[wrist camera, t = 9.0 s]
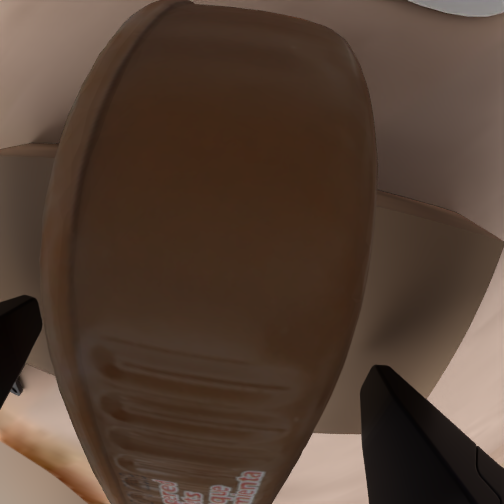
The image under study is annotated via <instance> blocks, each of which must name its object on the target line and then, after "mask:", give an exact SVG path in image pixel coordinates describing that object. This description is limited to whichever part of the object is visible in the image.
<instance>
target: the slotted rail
mask: <svg viewBox="0 0 504 504" xmlns="http://www.w3.org/2000/svg"><path fill="white" fill-rule="evenodd" d="M58 146H59V144H37V143H29V144H24V145H19V146H14V147H9V148H4V149H0V302H3V301H6V300H9V299H12V298H15V297H18V296H21V295H29V296H32V297H34V298H36V299H37V301H38V303H39V308H40V313H41V317H42V322H43V315H42V304H41V289H40V265H39V258H40V250H41V240H42V216H43V210H44V205H45V199H46V195H47V190H48V186H49V182H50V178H51V173H52V169H53V164H54V160H55V156H56V153H57V149H58ZM503 247H504V241H502V240H501V239H499V238H498V237H496V236H495V235H493V234H491V233H490V232H488V231H487V230H485V229H483V228H482V227H480V226H479V225H477V224H475V223H474V222H472V221H470V220H469V219H467V218H465V217H463V216H462V215H460V214H458V213H456V212H453V211H450V210H447V209H444V208H440V207H437V206H434V205H430V204H427V203H423V202H420V201H416V200H413V199H409V198H405V197H402V196H398V195H394V194H390V193H387V192H383V191H379V190H377V198H376V215H375V227H374V236H373V244H372V251H371V258H370V265H369V272H368V277H367V283H366V288H365V293H364V298H363V302H362V307H361V311H360V314H359V318H358V322H357V325H356V328H355V332H354V335H353V338H352V342H351V345H350V348H349V351H348V355H347V358H346V361H345V364H344V366H343V369H342V371H341V374H340V376H339V379H338V381H337V384H336V386H335V388H334V391H333V393H332V395H331V397H330V400H329V402H328V404H327V406H326V408H325V410H324V412H323V414H322V416H321V418H320V420H319V421H318V423H317V425H316V427H315V429H314V431H313V433H327V434H361V409H360V390H361V387H362V384H363V383H364V381H365V379H366V377H367V375H368V373H369V371H370V369H371V367H372V366H373V365H376V364H378V365H388V366H390V367H391V368H392V369H393V370H394V371H395V372H397V373H398V374H399V375H400V376H401V377H402V378H403V379H404V380H406V381H407V382H408V383H409V384H410V385H411V386H412V387H413V388H414V389H416V390H417V391H418V392H419V393H420V394H421V395H422V396H423V397H424V398H426V399H427V397H428V396H429V395H430V393H431V392H432V390H433V388H434V387H435V385H436V384H437V382H438V381H439V379H440V378H441V376H442V374H443V373H444V371H445V369H446V368H447V366H448V364H449V363H450V361H451V359H452V358H453V356H454V354H455V352H456V351H457V349H458V347H459V345H460V343H461V342H462V340H463V338H464V336H465V334H466V332H467V330H468V328H469V326H470V324H471V322H472V320H473V318H474V316H475V314H476V312H477V310H478V308H479V306H480V304H481V302H482V299H483V297H484V295H485V293H486V290H487V288H488V286H489V283H490V281H491V279H492V276H493V274H494V271H495V269H496V266H497V263H498V261H499V258H500V255H501V253H502V250H503ZM26 364H28V365H31V366H33V367H35V368H37V369H40V370H42V371H44V372H47V373H49V374H52V375H54V376H55V372H54V369H53V365H52V361H51V358H50V354H49V351H48V346H47V340H46V335H45V329H44V322H43V326H42V330H41V332H40V334H39V336H38V338H37V340H36V342H35V344H34V346H33V348H32V350H31V353H30V355H29V357H28V359H27V361H26Z"/></svg>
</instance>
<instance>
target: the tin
mask: <svg viewBox="0 0 504 504" xmlns="http://www.w3.org/2000/svg"><path fill="white" fill-rule="evenodd" d="M377 175H378V162H377V149H376V138H375V128H374V119H373V112H372V107H371V101H370V96H369V91H368V88H367V84H366V81H365V78H364V75H363V73H362V70H361V67H360V64H359V63H358V61H357V59H356V57H355V55H354V53H353V51H352V49H351V47H350V46H349V45H348V43H347V42H346V41H345V39H343V38H342V37H341V36H339V35H338V34H337V33H336V32H334V31H333V30H331V29H329V28H327V27H325V26H322V25H319V24H316V23H313V22H310V21H307V20H304V19H301V18H296V17H292V16H287V15H282V14H277V13H271V12H265V11H259V10H249V9H242V8H234V7H224V6H211V5H199V4H194V3H193V2H191V1H189V0H159V1H156V2H154V3H151V4H149V5H147V6H145V7H144V8H142V9H141V10H139V11H138V12H136V13H135V14H133V15H132V16H131V17H130V18H129V19H128V20H127V21H126V22H125V23H124V24H123V25H122V26H121V27H120V28H119V30H118V31H117V32H116V34H115V35H114V36H113V37H112V38H111V40H110V41H109V42H108V44H107V46H106V47H105V48H104V49H103V51H102V52H101V53H100V54H99V56H98V58H97V60H96V62H95V63H94V65H93V67H92V69H91V71H90V72H89V74H88V76H87V78H86V79H85V81H84V83H83V84H82V86H81V89H80V92H79V94H78V96H77V98H76V100H75V102H74V105H73V107H72V109H71V111H70V113H69V115H68V118H67V121H66V124H65V127H64V130H63V133H62V136H61V139H60V142H59V146H58V149H57V153H56V156H55V160H54V164H53V169H52V173H51V178H50V182H49V186H48V190H47V195H46V199H45V205H44V210H43V216H42V240H41V250H40V258H39V265H40V289H41V304H42V315H43V322H44V329H45V335H46V340H47V346H48V351H49V354H50V358H51V361H52V365H53V369H54V372H55V376H56V380H57V383H58V387H59V390H60V393H61V396H62V398H63V401H64V403H65V406H66V409H67V411H68V414H69V417H70V419H71V422H72V424H73V427H74V429H75V432H76V434H77V436H78V439H79V441H80V443H81V446H82V448H83V450H84V452H85V455H86V457H87V459H88V462H89V464H90V466H91V468H92V471H93V473H94V474H95V476H96V478H97V480H98V482H99V483H100V485H101V487H102V489H103V491H104V493H105V494H106V496H107V498H108V500H109V502H110V503H111V504H272V502H273V501H274V499H275V497H276V496H277V494H278V492H279V491H280V489H281V488H282V486H283V485H284V483H285V481H286V480H287V478H288V476H289V475H290V473H291V471H292V469H293V467H294V466H295V464H296V463H297V461H298V459H299V458H300V456H301V453H302V451H303V449H304V448H305V446H306V445H307V443H308V441H309V439H310V437H311V435H312V433H313V431H314V429H315V427H316V425H317V423H318V421H319V420H320V418H321V416H322V414H323V412H324V410H325V408H326V406H327V404H328V402H329V400H330V397H331V395H332V393H333V391H334V388H335V386H336V384H337V381H338V379H339V376H340V374H341V371H342V369H343V366H344V364H345V361H346V358H347V355H348V351H349V348H350V345H351V342H352V338H353V335H354V332H355V328H356V325H357V322H358V318H359V314H360V311H361V307H362V302H363V298H364V293H365V288H366V283H367V277H368V272H369V265H370V258H371V251H372V244H373V236H374V227H375V215H376V198H377Z"/></svg>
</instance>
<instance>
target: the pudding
mask: <svg viewBox="0 0 504 504" xmlns="http://www.w3.org/2000/svg"><path fill="white" fill-rule="evenodd" d="M408 1H410V2H413V3H415V4H418V5H420V6H424V7H428V8H431V9H435V10H438V11H441V12H444V13H449V14H456V15H462V16H467V17H489V16H492V15H496V14H500V13H503V12H504V0H408Z"/></svg>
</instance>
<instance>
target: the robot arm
mask: <svg viewBox="0 0 504 504" xmlns="http://www.w3.org/2000/svg"><path fill="white" fill-rule="evenodd" d="M42 326H43V322H42V317H41V313H40V308H39V303H38V301H37V299H36V298H34V297H32V296H29V295H21V296H18V297H15V298H12V299H9V300H6V301H3V302H0V409H1V407H2V405H3V404H4V402H5V400H6V398H7V396H8V394H9V393H10V392H12V393H14V394H16V395H18V396H20V395H21V393H22V392H23V389H22V386H21V384H20V382H19V379H18V377H19V375H20V373H21V371H22V369H23V367H24V365H25V363H26V361H27V359H28V357H29V355H30V353H31V350H32V348H33V346H34V344H35V342H36V340H37V338H38V336H39V334H40V332H41V330H42ZM360 409H361V437H362V449H363V457H364V464H365V472H366V480H367V488H368V497H369V504H504V468H503V467H501V466H500V465H499V464H498V463H497V462H495V461H494V460H493V459H492V458H491V457H490V456H489V455H487V454H486V453H485V452H484V451H483V450H482V449H481V448H480V447H479V446H476V444H475V443H474V442H473V441H472V440H471V439H470V438H469V437H468V436H466V435H465V434H464V433H463V432H462V431H461V430H460V429H459V428H458V427H457V426H455V425H454V424H453V423H452V422H451V421H450V420H449V419H448V418H447V417H445V416H444V415H443V414H442V413H441V412H440V411H439V410H438V409H437V408H436V407H434V406H433V405H432V404H431V403H430V402H429V401H428V400H427V399H426V398H424V397H423V396H422V395H421V394H420V393H419V392H418V391H417V390H416V389H414V388H413V387H412V386H411V385H410V384H409V383H408V382H407V381H406V380H404V379H403V378H402V377H401V376H400V375H399V374H398V373H397V372H395V371H394V370H393V369H392V368H391V367H390V366H388V365H378V364H376V365H373V366H372V367H371V369H370V371H369V373H368V375H367V377H366V379H365V381H364V383H363V384H362V387H361V390H360Z"/></svg>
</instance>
